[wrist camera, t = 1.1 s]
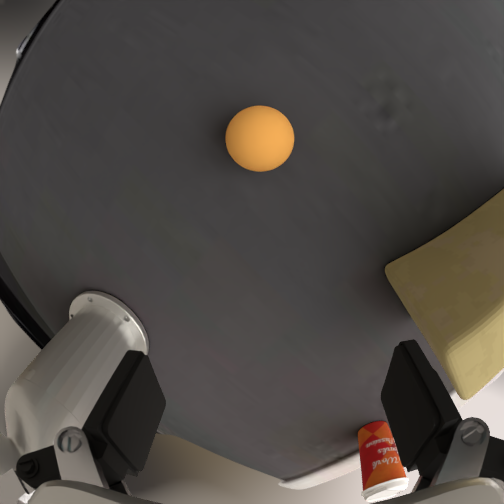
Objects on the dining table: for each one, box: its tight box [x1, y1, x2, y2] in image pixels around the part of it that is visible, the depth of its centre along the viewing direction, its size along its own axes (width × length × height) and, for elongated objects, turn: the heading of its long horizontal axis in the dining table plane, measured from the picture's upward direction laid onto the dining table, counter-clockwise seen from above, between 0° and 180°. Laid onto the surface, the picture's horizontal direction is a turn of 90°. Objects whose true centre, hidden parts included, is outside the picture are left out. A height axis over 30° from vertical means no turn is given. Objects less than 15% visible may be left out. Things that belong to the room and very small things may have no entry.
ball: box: [226, 106, 294, 172], centre depth 21 cm, size 6×6×6 cm
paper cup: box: [358, 421, 409, 502], centre depth 32 cm, size 8×8×14 cm
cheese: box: [385, 189, 504, 400], centre depth 18 cm, size 22×10×15 cm, turn 132°
